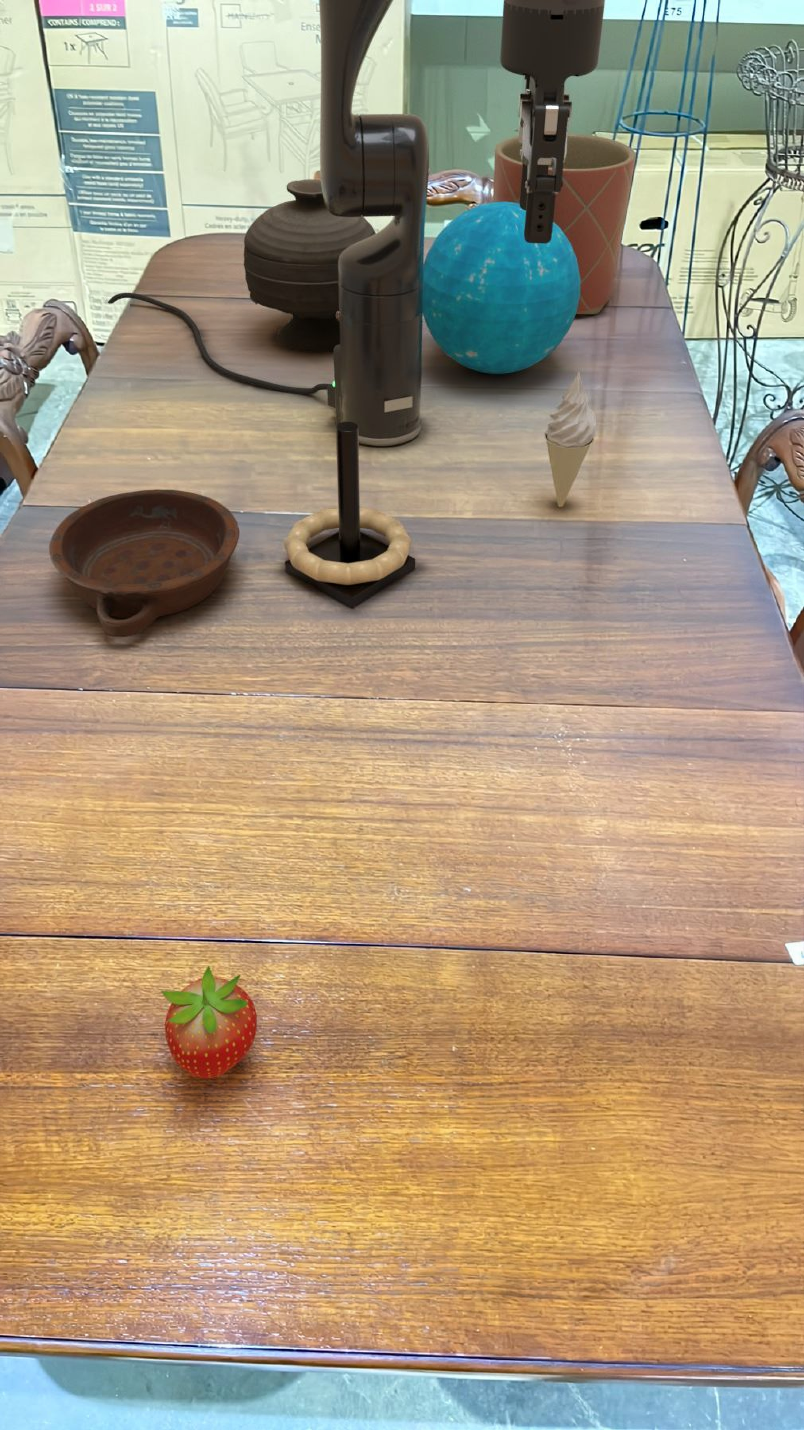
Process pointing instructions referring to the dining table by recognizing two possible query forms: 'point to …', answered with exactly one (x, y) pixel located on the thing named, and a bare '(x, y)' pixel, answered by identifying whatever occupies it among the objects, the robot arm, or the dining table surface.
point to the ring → (347, 571)
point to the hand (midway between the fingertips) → (534, 224)
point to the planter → (582, 205)
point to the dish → (144, 554)
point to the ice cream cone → (569, 438)
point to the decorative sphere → (498, 290)
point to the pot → (301, 264)
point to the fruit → (210, 1025)
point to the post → (349, 529)
